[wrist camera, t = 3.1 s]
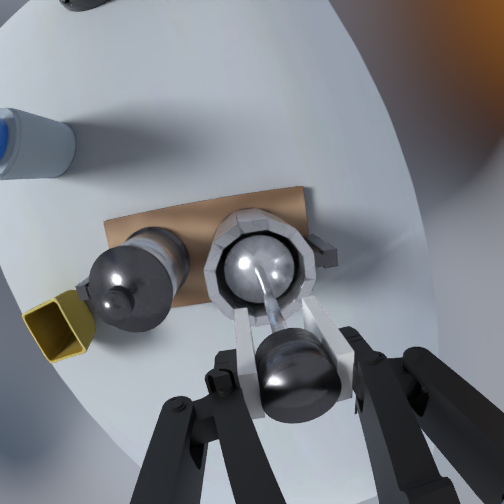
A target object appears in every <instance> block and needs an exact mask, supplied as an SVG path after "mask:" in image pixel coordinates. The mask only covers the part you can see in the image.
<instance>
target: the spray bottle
mask: <svg viewBox="0 0 504 504" xmlns="http://www.w3.org/2000/svg"><path fill="white" fill-rule="evenodd" d="M75 150H76V140H75V136H74V133H73V131H72V129H71V128H70V127H69V126H67V125H66V124H64V123H61V122H58V121H55V120H51V119H48V118H45V117H41V116H38V115H35V114H31V113H28V112H24V111H21V110H17V109H13V108H0V180H11V179H36V178H54V177H58V176H59V175H61V174H63V173H64V172H65V171H66V170H67V169H68V168H69V166H70V164H71V162H72V160H73V158H74V154H75Z"/></svg>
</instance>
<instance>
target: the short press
mask: <svg viewBox="0 0 504 504" xmlns="http://www.w3.org/2000/svg"><path fill="white" fill-rule="evenodd" d="M189 270H190V258H189V253H188V250H187V248H186V246H185V244H184V243H183V241H182V240H181V239H180V238H179V237H178V236H177V235H176V234H175V233H173V232H172V231H170V230H168V229H166V228H163V227H157V226H150V227H145V228H142V229H140V230H138V231H136V232H134V233H133V234H131V235H130V236H129V237H128V238H127V240H126V241H125V242H124V243H122V244H121V245H119V246H116V247H113V248H111V249H109V250H107V251H105V252H104V253H102V254H101V255H100V256H99V257H98V258H97V259H96V261H95V262H94V264H93V266H92V268H91V271H90V275H89V277H88V278H86V279H85V280H84V281H82V282H81V283H79V284H78V285H77V286H75V287H76V290H77V294H78V297H79V300H80V301H83V300H89V299H90V298H92V301H93V303H94V305H95V307H96V309H97V311H98V314H99V316H100V317H101V319H102V320H103V321H104V322H106V323H107V324H109V325H113V326H115V327H117V328H119V329H122V330H125V331H129V332H144V331H148V330H151V329H153V328H155V327H156V326H158V325H159V324H160V323H161V322H163V320H164V319H165V318H166V316H167V315H168V313H169V311H170V308H171V306H172V301H173V298H174V296H175V293H176V292H177V291H178V290H179V289H180V288H181V287H182V286H183V284H184V283H185V281H186V279H187V276H188V274H189Z"/></svg>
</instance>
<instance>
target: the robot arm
mask: <svg viewBox="0 0 504 504" xmlns="http://www.w3.org/2000/svg"><path fill="white" fill-rule="evenodd" d="M59 1H60V3H61V4H62V5H63V6H64V7H65V8H66V9H68V10H70V11H84V10H88V9H91V8H94V7H97V6H99V5H101V4H103V3H105V2H107V1H108V0H59ZM302 305H303V316H304V327H305V330H307V331H309V332H311V333H313V334H314V335H315V336H316V337H317V338H318V339H319V341H320V342H321V344H322V346H323V348H324V350H325V351H326V353H327V355H328V357H329V359H330V360H331V362H332V364H333V366H334V368H335V370H336V371H337V373H338V375H339V377H340V379H341V383H342V389H341V394H340V396H339V398H338V400H337V402H338V401H342V400H345V399H349V398H352V392H353V390H354V392H355V394H356V403H355V414H357V410H358V413H359V417H360V421H361V425H362V429H363V433H364V437H365V441H366V445H367V449H368V453H369V458H370V462H371V466H372V471H373V475H374V480H375V485H376V489H377V494H378V499H379V504H460V501H459V499H458V496H457V493H456V491H455V488H454V485H453V483H452V481H451V480H450V479H449V478H448V477H442V476H441V475H440V474H439V471H438V469H437V466H436V464H435V461H434V459H433V456H432V454H431V452H430V449H429V447H428V444H427V442H426V440H425V437H424V435H423V433H422V430H423V431H424V432H425V434H426V435H427V436H428V437H429V438H430V440H431V441H432V442H433V443H434V444H435V445H436V446H437V448H438V449H439V450H440V451H441V453H442V454H443V455H444V456H445V457H446V459H447V460H448V461H449V462H450V463H451V465H452V466H453V467H454V468H455V469H456V471H457V472H458V473H459V474H460V475H461V477H463V479H464V480H465V481H466V483H467V484H468V485H469V486H470V488H471V489H472V490H473V491H474V492H475V494H476V495H477V496H478V497H479V498H480V499H481V500H482V502H483V503H484V504H504V413H503V412H502V411H501V410H500V409H499V408H497V407H496V406H495V405H494V404H493V403H491V402H490V401H489V400H488V399H487V398H486V397H484V396H483V395H482V394H481V393H480V392H479V391H477V390H476V389H475V388H474V387H473V386H471V385H470V384H469V383H468V382H467V381H465V380H464V379H463V378H462V377H460V376H459V375H458V374H457V373H456V372H454V371H453V370H452V369H451V368H450V367H448V366H447V365H446V364H445V363H443V362H442V361H441V360H440V359H438V358H437V357H436V356H435V355H434V354H432V353H431V352H430V351H429V350H427V349H425V348H423V347H411V348H408V349H407V350H405V352H404V353H403V357H401V358H387V357H386V356H385V355H384V354H383V353H381V352H377V351H373V350H372V348H371V347H370V346H369V345H368V343H367V342H366V341H365V340H364V339H363V337H362V336H361V335H360V334H359V333H358V331H357V330H356V329H354V328H352V327H350V326H347V327H343V328H339V329H338V328H337V327H336V325H335V324H334V322H333V321H332V320H331V318H330V317H329V316H328V314H327V313H326V311H325V310H324V309H323V307H322V306H321V305H320V303H319V302H318V300H317V299H316V298H315V296H314V295H313V296H308V297H303V298H302ZM235 331H236V349H233V350H226V351H219V352H218V354H217V355H216V357H215V365H214V369H212V370H210V371H209V372H208V373H207V374H206V375H205V382H206V385H207V388H208V392H209V394H208V395H207V396H206V397H204V398H202V399H199V400H196V401H193V402H192V400H191V399H190V398H188V397H185V396H177V397H173V398H171V399H169V400H168V401H166V402H165V403H164V405H163V407H162V410H161V412H160V415H159V418H158V421H157V424H156V427H155V430H154V432H153V435H152V438H151V441H150V444H149V447H148V450H147V453H146V456H145V459H144V462H143V465H142V468H141V471H140V474H139V477H138V480H137V483H136V486H135V489H134V492H133V495H132V498H131V501H130V504H200V499H201V492H202V484H203V477H204V470H205V463H206V456H207V449H208V442H211V441H214V440H217V439H219V441H220V445H221V449H222V453H223V458H224V462H225V465H226V469H227V473H228V477H229V481H230V484H231V488H232V492H233V495H234V499H235V502H236V504H286V502H285V499H284V497H283V495H282V493H281V490H280V488H279V486H278V483H277V481H276V479H275V476H274V474H273V471H272V469H271V467H270V464H269V462H268V459H267V457H266V454H265V452H264V449H263V447H262V444H261V442H260V439H259V437H258V434H257V432H256V429H255V426H254V424H253V421H252V419H257V418H264V417H265V413H264V410H263V408H262V405H261V399H260V387H259V381H258V374H257V368H256V361H255V350H254V344H253V338H252V333H251V327H250V321H249V316H248V310H247V307H246V308H240V309H235ZM421 429H422V430H421Z"/></svg>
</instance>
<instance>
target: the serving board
mask: <svg viewBox="0 0 504 504" xmlns="http://www.w3.org/2000/svg"><path fill="white" fill-rule="evenodd" d="M250 207H252V208H261V209H264V210H267V211H269V212H271V213H272V214H274V215H276V216H278V217H279V218H281V219H282V220H284V221H285V222H286V223H288V224H289V225H291V226H292V227H294V228H295V229H297V230H298V232H299V233H300V234H301V236H302V235H307V234H309V233H308V224H307V216H306V207H305V200H304V192H303V186H296V187H288V188H281V189H274V190H267V191H260V192H253V193H247V194H240V195H234V196H228V197H222V198H216V199H210V200H204V201H199V202H193V203H188V204H182V205H177V206H172V207H167V208H162V209H157V210H152V211H147V212H142V213H137V214H133V215H128V216H124V217H119V218H115V219H110V220H106V221H103V222H104V227H105V232H106V237H107V241H108V246H109V249H111V248H113V247H116V246H119V245H121V244H122V243H124V242H125V241H126V240H127V238H128V237H129V236H130V235H131V234H133V233H134V232H136V231H138V230H140V229H142V228H145V227H150V226H157V227H163V228H166V229H168V230H170V231H172V232H173V233H175V234H176V235H177V236H178V237H179V238H180V239H181V240H182V241H183V243H184V244H185V246H186V248H187V250H188V253H189V258H190V270H189V274H188V276H187V279H186V281H185V283H184V284H183V286H182V287H181V288H180V289H179V290H178V291H177V292H176V293H175V296H174V298H173V301H172V306H171V308H172V307H179V306H187V305H194V304H201V303H207V302H212V301H211V299H210V297H209V295H208V290H207V285H206V280H205V275H204V267H205V264H206V261H207V257H208V254H209V251H210V248H211V244H212V241H213V237H214V234H215V231H216V229H217V227H218V225H219V224H220V223H221V221H222V220H223V219H224V218H225V217H226V216H228V215H229V214H231V213H232V212H234V211H236V210H239V209H243V208H250Z"/></svg>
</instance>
